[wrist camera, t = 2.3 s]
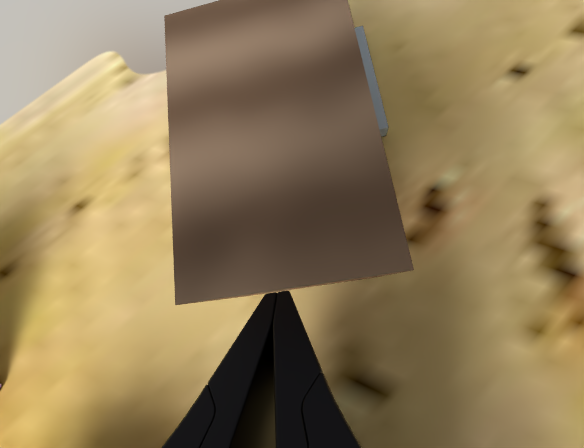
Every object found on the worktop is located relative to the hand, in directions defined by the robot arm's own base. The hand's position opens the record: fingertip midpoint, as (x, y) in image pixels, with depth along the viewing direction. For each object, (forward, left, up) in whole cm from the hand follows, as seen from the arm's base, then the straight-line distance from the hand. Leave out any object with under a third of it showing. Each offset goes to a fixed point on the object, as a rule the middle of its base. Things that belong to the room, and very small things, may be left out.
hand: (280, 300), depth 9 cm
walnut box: (+5, -7, -12) cm, 14 cm away
